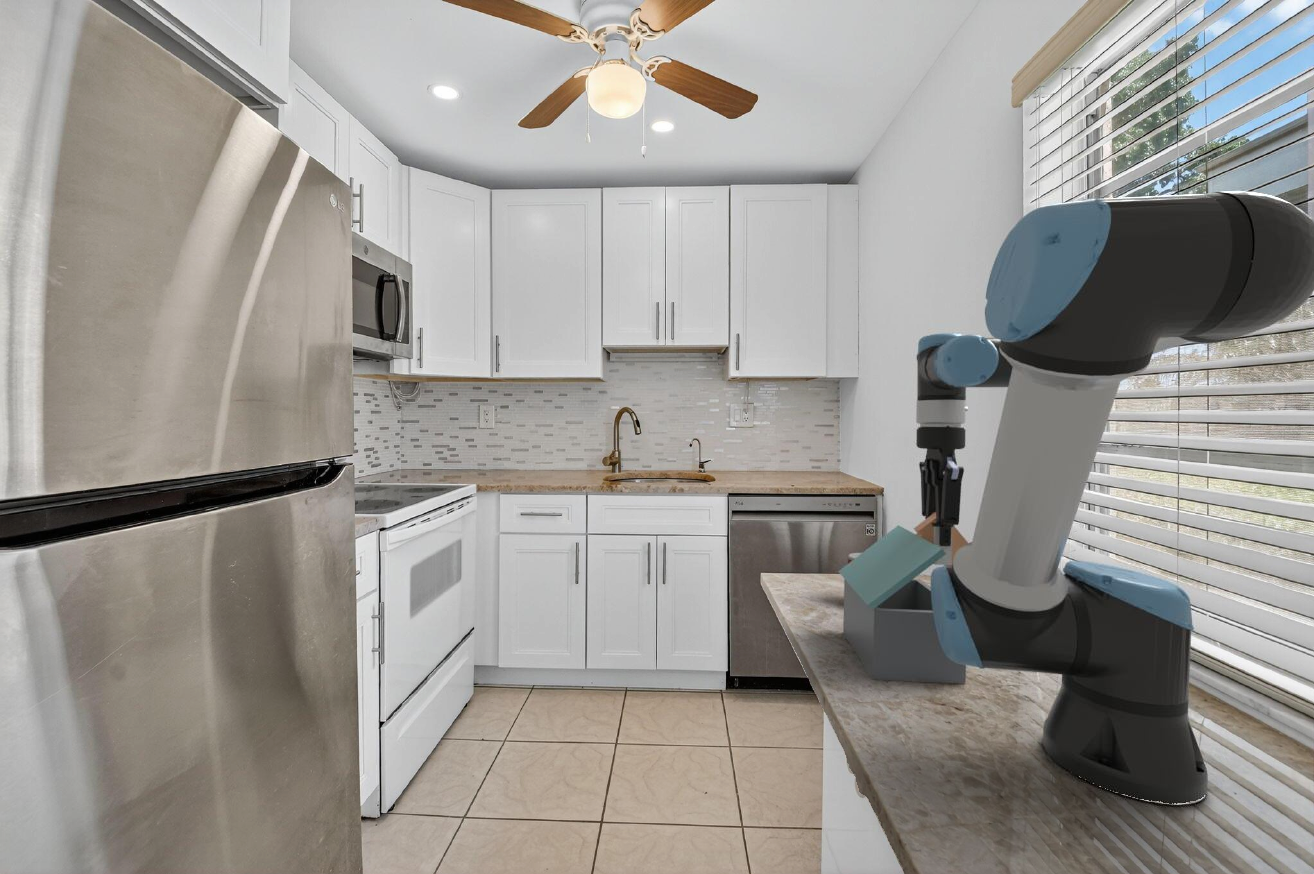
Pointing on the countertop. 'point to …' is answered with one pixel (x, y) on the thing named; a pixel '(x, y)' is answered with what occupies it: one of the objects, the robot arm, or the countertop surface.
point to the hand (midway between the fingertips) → (938, 561)
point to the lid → (896, 561)
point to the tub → (899, 636)
